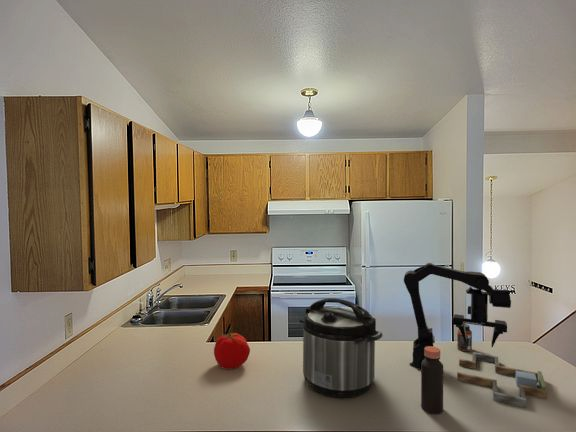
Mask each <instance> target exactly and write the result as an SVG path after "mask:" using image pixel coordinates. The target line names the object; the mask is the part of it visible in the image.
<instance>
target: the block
mask: <svg viewBox="0 0 576 432" xmlns="http://www.w3.org/2000/svg"><path fill="white" fill-rule="evenodd" d="M515 384H516V387H518V388H519V385H524V386H529V387H534V388H538V381H537V379H536V376H535V374H533V373H527V372H521V371H516V376H515Z"/></svg>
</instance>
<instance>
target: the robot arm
mask: <svg viewBox="0 0 576 432" xmlns="http://www.w3.org/2000/svg"><path fill="white" fill-rule="evenodd" d="M430 275H432V276H433V275H434V276H437V277H442V278H446V279H449V280H454V281H457V282H461V283H462V284H463V283H464V284H466V285H468V286H469V287H468V288H467V289H466V290H465V292H466V294H468V295H470V305H468V306H467V314H468V315H470V318H465V315H462V314H453V316H452V319H451V321H452V322H451V323H452V324H451V325H454V326H455V327H456V328H458V329H459V330H460V331H461V333H462V336H463V338H464V341H465V343H466V331H465V324H467V325H469V324H470V325H474V326H480V327H481V326H482V327H488V328H493V332H492V337H491V348H493V347H494V345H495V344H496V340H497V339H498V338H499V336H500V335H503V334H504V333H508V323H507V321H506V320H500V319H499V320H498V319H495V320H494V321H488V318H489V317H488V316H489V314H488V310H489V309H488V307H489V305H491V306H492V307H493V308H503V309H504V308H508V309H510V308H511V307H512V300H511V294H510V290H509V289H497V288H496V289H495V288H493V286H491V285H490V280H489V278H488V277H487V276H486V275H485V274H484V273H483V272H480V271H479V272H478V271H463V270H458V269H453V268H450V267H447V266H443V265H438V264H434V263H432V262H427V263H426V264H424V265H422V266H420V267H418V268H416V269H414V270H408V271H406V272H405V273H404V275H403V276H404V277H403V283H404V285H405V288H406V290H407V292H408V293H409V296H410V299H411V300H410V301H411V304H412V309H413V313H414V317H415V322H416V326H417V338H416V339H415V340H414V341H413V345H412V361H411V362H410V363H409V365H410V366H411V367H414V368H416V369H419V370H421V363H422V361H423V360H424V359H425V355H424V348H425V347H427V346H433V347H434V344H435V343H436V340H435V336H434V334H433V328H432V327H431V328H429V326H428V323H427V319H426V316H425V310H424V308H423V307H424V306H423V301H422V298H421V295H420V294H421V293H420V282H421V281H423V280H424V279H426V278H427V277H428V276H430ZM482 290H483V291H482ZM488 303H489V305H488Z"/></svg>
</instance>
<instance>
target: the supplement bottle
mask: <svg viewBox="0 0 576 432" xmlns="http://www.w3.org/2000/svg"><path fill="white" fill-rule="evenodd" d="M465 331H466V343H465V341H464V338H463V336H462V333H461V331H460V330H459V328H458V329H457V333H456V334H457V336H456V337H457V344H456V346H457V349H458V350H459V351H462V352H472V349H473V346H472V345H473V344H472V343H473V333H472V332H473V331H472V330H471V329H470V325H469V324H467V323H465Z"/></svg>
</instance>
